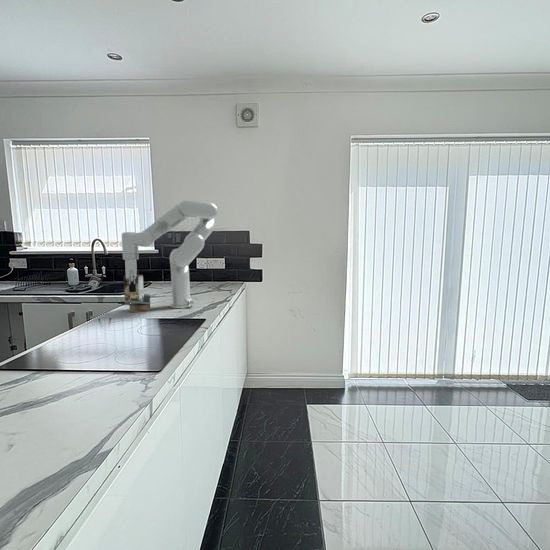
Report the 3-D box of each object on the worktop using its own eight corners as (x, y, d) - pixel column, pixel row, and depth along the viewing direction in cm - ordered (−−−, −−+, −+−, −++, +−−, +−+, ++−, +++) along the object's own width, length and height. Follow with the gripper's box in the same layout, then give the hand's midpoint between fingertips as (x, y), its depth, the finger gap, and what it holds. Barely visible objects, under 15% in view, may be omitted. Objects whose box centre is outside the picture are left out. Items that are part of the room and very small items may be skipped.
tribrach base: (149, 307, 187) (149, 301, 187) (150, 310, 180) (150, 304, 180) (129, 309, 184) (129, 303, 183) (129, 312, 176) (129, 306, 176)
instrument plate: (149, 301, 187) (150, 294, 187) (150, 304, 180) (151, 296, 179) (129, 299, 183) (130, 292, 183) (129, 302, 176) (130, 294, 176)
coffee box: (124, 303, 197) (122, 275, 195) (130, 301, 204) (128, 274, 201) (139, 304, 196) (137, 276, 194) (144, 301, 203) (143, 274, 201)
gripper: (123, 255, 183) (125, 289, 185) (122, 257, 169) (124, 294, 171) (138, 255, 185) (140, 289, 188) (138, 257, 172) (140, 293, 174)
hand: (132, 291), depth 179 cm, fingers closed
